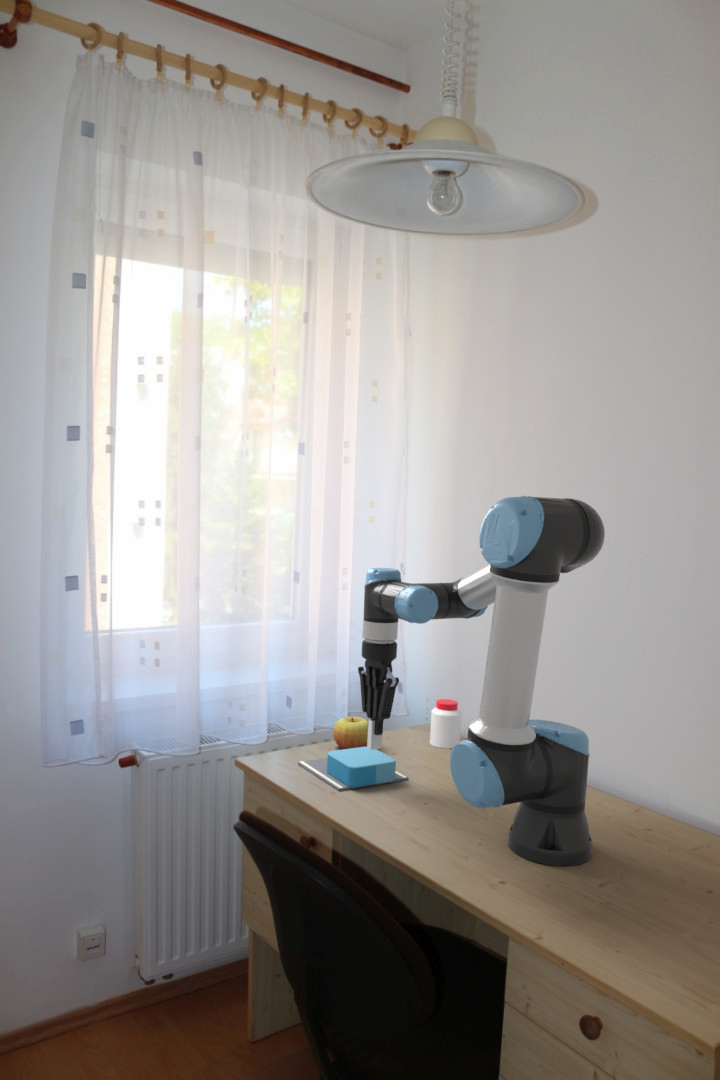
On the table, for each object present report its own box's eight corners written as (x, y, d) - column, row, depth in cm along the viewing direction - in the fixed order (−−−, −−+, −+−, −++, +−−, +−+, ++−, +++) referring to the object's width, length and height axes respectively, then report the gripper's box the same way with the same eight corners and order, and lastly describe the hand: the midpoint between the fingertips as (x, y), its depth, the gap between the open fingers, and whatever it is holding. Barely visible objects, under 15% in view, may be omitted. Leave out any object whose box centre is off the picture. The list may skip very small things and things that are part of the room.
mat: (408, 779, 192) (408, 776, 192) (338, 791, 183) (338, 788, 183) (363, 754, 209) (364, 752, 209) (297, 764, 199) (297, 761, 199)
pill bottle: (428, 746, 218) (430, 704, 217) (430, 738, 225) (433, 696, 224) (459, 750, 216) (461, 706, 216) (460, 741, 224) (462, 699, 223)
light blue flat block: (397, 781, 190) (369, 764, 200) (398, 760, 189) (370, 745, 200) (350, 788, 183) (324, 771, 194) (351, 767, 183) (324, 751, 193)
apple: (331, 753, 208) (333, 721, 208) (332, 741, 218) (334, 710, 218) (372, 755, 209) (374, 723, 208) (371, 743, 218) (373, 712, 218)
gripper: (411, 644, 181) (405, 754, 183) (378, 633, 192) (372, 737, 194) (381, 646, 177) (375, 759, 179) (349, 635, 188) (344, 741, 190)
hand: (374, 748), depth 186 cm, fingers closed
